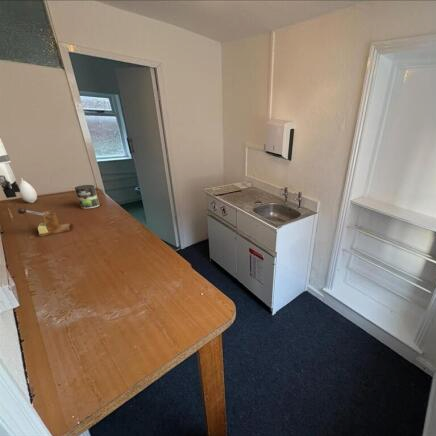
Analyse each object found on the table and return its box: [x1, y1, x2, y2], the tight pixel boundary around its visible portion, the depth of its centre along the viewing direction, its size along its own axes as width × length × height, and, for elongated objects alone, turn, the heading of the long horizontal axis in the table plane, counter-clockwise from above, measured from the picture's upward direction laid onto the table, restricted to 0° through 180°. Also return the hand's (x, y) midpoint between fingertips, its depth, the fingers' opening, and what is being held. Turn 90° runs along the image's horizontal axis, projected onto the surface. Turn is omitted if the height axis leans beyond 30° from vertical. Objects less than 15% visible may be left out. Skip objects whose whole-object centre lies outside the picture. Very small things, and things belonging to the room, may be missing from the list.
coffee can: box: [74, 184, 100, 210], centre depth 160 cm, size 10×10×14 cm
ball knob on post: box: [16, 207, 48, 216], centre depth 121 cm, size 13×3×3 cm, turn 128°
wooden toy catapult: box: [37, 209, 71, 237], centre depth 126 cm, size 12×9×11 cm
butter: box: [37, 225, 48, 234], centre depth 123 cm, size 3×4×3 cm
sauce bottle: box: [18, 177, 38, 204], centre depth 161 cm, size 8×8×18 cm
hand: (13, 194), depth 114 cm, fingers open, 9 cm apart
